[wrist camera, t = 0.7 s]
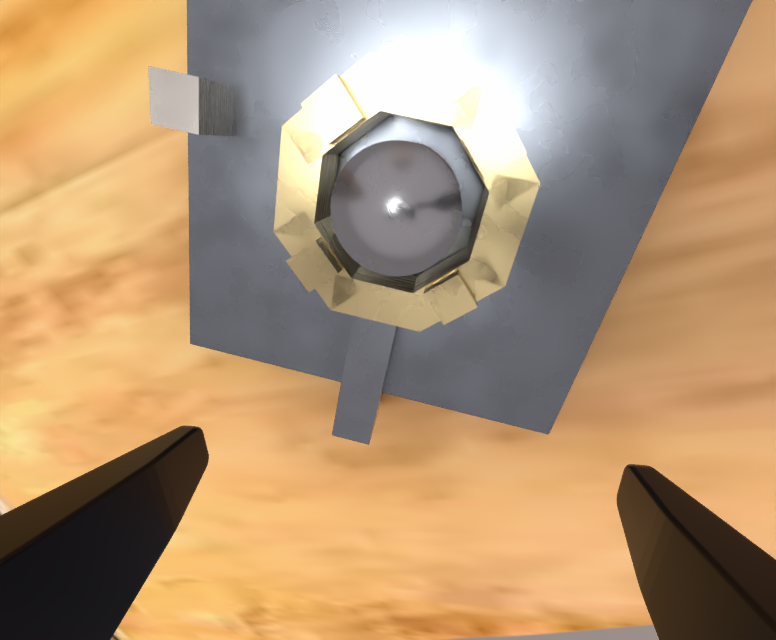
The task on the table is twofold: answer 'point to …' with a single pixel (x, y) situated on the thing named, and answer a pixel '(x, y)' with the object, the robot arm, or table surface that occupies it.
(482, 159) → the ring nut
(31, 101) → the table surface
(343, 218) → the cap plate
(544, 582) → the table surface
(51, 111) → the table surface
